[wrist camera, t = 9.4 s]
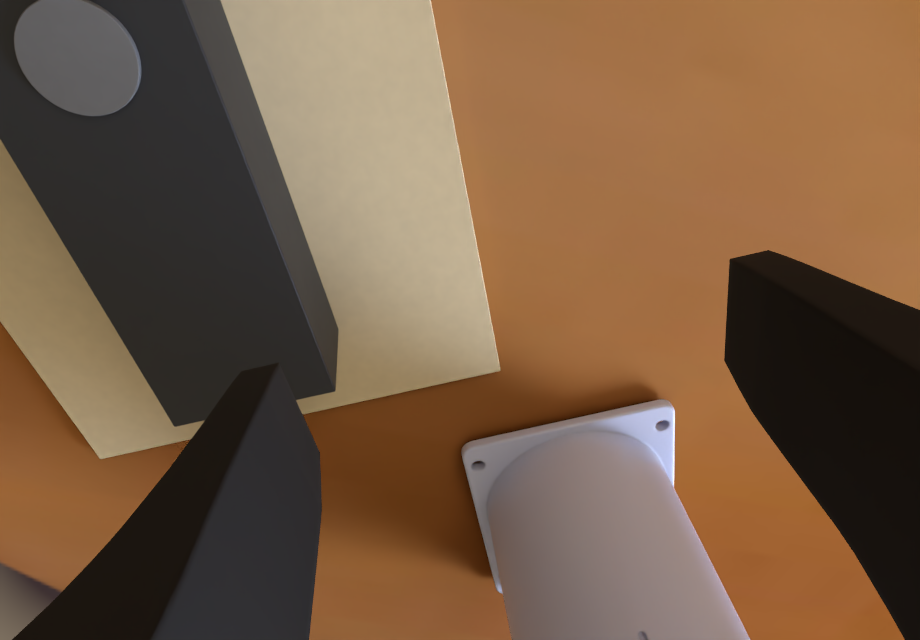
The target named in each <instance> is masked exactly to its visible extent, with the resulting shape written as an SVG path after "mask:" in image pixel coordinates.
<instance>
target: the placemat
mask: <svg viewBox="0 0 920 640" xmlns="http://www.w3.org/2000/svg"><path fill="white" fill-rule="evenodd" d="M220 1H221V3H222V6H223V9H224V12H225V14H226V17H227V20H228V23H229V26H230V28H231V31H232V34H233V37H234V40H235V42H236V45H237V48H238V51H239V53H240V56H241V59H242V62H243V65H244V67H245V70H246V73H247V76H248V79H249V81H250V84H251V87H252V90H253V92H254V95H255V98H256V101H257V104H258V106H259V109H260V112H261V115H262V117H263V120H264V123H265V126H266V129H267V131H268V134H269V137H270V140H271V143H272V145H273V148H274V151H275V154H276V156H277V159H278V162H279V165H280V168H281V170H282V173H283V176H284V179H285V182H286V184H287V187H288V190H289V193H290V195H291V198H292V201H293V204H294V207H295V209H296V212H297V215H298V218H299V221H300V223H301V226H302V229H303V232H304V234H305V237H306V240H307V243H308V246H309V248H310V251H311V254H312V257H313V259H314V262H315V265H316V268H317V271H318V273H319V276H320V279H321V282H322V285H323V287H324V290H325V293H326V296H327V298H328V301H329V304H330V307H331V310H332V312H333V315H334V318H335V321H336V324H337V326H338V329H339V333H338V353H337V373H336V391H335V392H331V393H326V394H322V395H317V396H313V397H308V398H304V399H299V400H296V401H297V404H298V406H299V408H300V410H301V412H302V415H303V414H307V413H312V412H316V411H321V410H325V409H330V408H334V407H339V406H343V405H348V404H353V403H357V402H362V401H366V400H371V399H375V398H380V397H384V396H389V395H393V394H398V393H402V392H407V391H411V390H416V389H420V388H425V387H429V386H434V385H439V384H443V383H448V382H452V381H457V380H461V379H466V378H470V377H475V376H479V375H484V374H488V373H493V372H497V371H500V364H499V359H498V354H497V349H496V343H495V338H494V333H493V327H492V322H491V317H490V311H489V306H488V301H487V296H486V290H485V285H484V280H483V274H482V269H481V264H480V259H479V253H478V248H477V243H476V237H475V232H474V227H473V221H472V216H471V211H470V206H469V200H468V195H467V190H466V184H465V179H464V174H463V169H462V163H461V158H460V153H459V147H458V142H457V137H456V131H455V126H454V121H453V116H452V110H451V105H450V100H449V94H448V89H447V84H446V79H445V73H444V68H443V63H442V57H441V52H440V47H439V41H438V36H437V31H436V26H435V20H434V15H433V10H432V4H431V0H220ZM0 322H1V323H2V325H3V326H4V327H5V329H6V330H7V331H8V333H9V334H10V336H11V337H12V338H13V340H14V341H15V342H16V344H17V345H18V347H19V348H20V349H21V351H22V352H23V353H24V355H25V356H26V358H27V359H28V360H29V362H30V363H31V365H32V366H33V367H34V369H35V370H36V371H37V373H38V374H39V376H40V377H41V378H42V380H43V381H44V382H45V384H46V385H47V387H48V388H49V389H50V391H51V392H52V393H53V395H54V396H55V398H56V399H57V400H58V402H59V403H60V404H61V406H62V407H63V409H64V410H65V411H66V413H67V414H68V416H69V417H70V418H71V420H72V421H73V422H74V424H75V425H76V427H77V428H78V429H79V431H80V432H81V433H82V435H83V436H84V438H85V439H86V440H87V442H88V443H89V444H90V446H91V447H92V449H93V450H94V451H95V453H96V454H97V455H98V457H99V458H100V459H104V458H108V457H113V456H117V455H122V454H126V453H131V452H135V451H140V450H144V449H149V448H153V447H158V446H162V445H167V444H172V443H176V442H181V441H185V440H190V439H192V437H193V436H194V435H195V433H196V432H197V431H198V429H199V428H200V427H201V425H202V424H203V422H204V421H205V420H204V421H200V422H195V423H191V424H186V425H182V426H177V427H174V425H173V424H172V422H171V421H170V419H169V417H168V416H167V414H166V412H165V411H164V409H163V407H162V406H161V404H160V402H159V401H158V399H157V397H156V396H155V394H154V392H153V391H152V389H151V387H150V386H149V384H148V383H147V381H146V379H145V378H144V376H143V374H142V373H141V371H140V369H139V368H138V366H137V364H136V363H135V361H134V359H133V358H132V356H131V354H130V353H129V351H128V349H127V348H126V346H125V345H124V343H123V341H122V340H121V338H120V336H119V335H118V333H117V331H116V330H115V328H114V326H113V325H112V323H111V321H110V320H109V318H108V316H107V315H106V313H105V311H104V310H103V308H102V307H101V305H100V303H99V302H98V300H97V298H96V297H95V295H94V293H93V292H92V290H91V288H90V287H89V285H88V283H87V282H86V280H85V278H84V277H83V275H82V273H81V272H80V270H79V269H78V267H77V265H76V264H75V262H74V260H73V259H72V257H71V255H70V254H69V252H68V250H67V249H66V247H65V245H64V244H63V242H62V240H61V239H60V237H59V235H58V234H57V232H56V231H55V229H54V227H53V226H52V224H51V222H50V221H49V219H48V217H47V216H46V214H45V212H44V211H43V209H42V207H41V206H40V204H39V202H38V201H37V199H36V197H35V196H34V194H33V193H32V191H31V189H30V188H29V186H28V184H27V183H26V181H25V179H24V178H23V176H22V174H21V173H20V171H19V169H18V168H17V166H16V164H15V163H14V161H13V160H12V158H11V156H10V155H9V153H8V151H7V150H6V148H5V146H4V145H3V143H2V141H1V140H0Z"/></svg>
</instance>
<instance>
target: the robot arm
mask: <svg viewBox="0 0 920 640" xmlns="http://www.w3.org/2000/svg"><path fill="white" fill-rule="evenodd" d="M724 361H725V362H726V364H727V366H728V368H729V370H730V372H731V374H732V376H733V378H734V380H735V382H736V384H737V386H738V388H739V389H740V391H741V393H742V395H743V397H744V398H745V400H746V402H747V404H748V405H749V407H750V409H751V411H752V412H753V414H754V415H755V417H756V418H757V420H758V421H759V422H760V424H761V425H762V427H763V428H764V429H765V431H766V432H767V433H768V435H769V436H770V438H771V439H772V440H773V442H774V443H775V444H776V446H777V447H778V449H779V450H780V451H781V453H782V454H783V455H784V457H785V458H786V459H787V461H788V462H789V463H790V465H791V466H792V467H793V469H794V470H795V471H796V473H797V474H798V476H799V477H800V478H801V480H802V481H803V482H804V484H805V485H806V486H807V488H808V489H809V490H810V492H811V493H812V494H813V496H814V497H815V498H816V500H817V501H818V502H819V504H820V505H821V507H822V508H823V509H824V511H825V512H826V513H827V515H828V516H829V517H830V519H831V520H832V521H833V523H834V524H835V525H836V527H837V528H838V530H839V531H840V533H841V534H842V536H843V537H844V539H845V540H846V542H847V543H848V544H849V546H850V547H851V549H852V550H853V552H854V553H855V555H856V557H857V558H858V560H859V562H860V563H861V565H862V567H863V568H864V570H865V572H866V573H867V575H868V577H869V578H870V580H871V582H872V584H873V585H874V587H875V589H876V590H877V592H878V594H879V595H880V597H881V599H882V600H883V602H884V604H885V605H886V607H887V609H888V610H889V612H890V614H891V616H892V617H893V619H894V621H895V623H896V625H897V626H898V628H899V630H900V632H901V633H902V635H903V637H904V639H905V640H920V310H918V309H915V308H913V307H910V306H908V305H905V304H903V303H900V302H897V301H895V300H892V299H890V298H887V297H885V296H882V295H880V294H877V293H875V292H872V291H870V290H868V289H865V288H863V287H860V286H858V285H855V284H853V283H851V282H848V281H846V280H843V279H841V278H839V277H836V276H834V275H831V274H829V273H827V272H824V271H822V270H819V269H817V268H814V267H812V266H810V265H807V264H805V263H802V262H800V261H797V260H795V259H792V258H789V257H787V256H784V255H781V254H778V253H775V252H772V251H769V250H767V251H763V252H759V253H754V254H750V255H746V256H741V257H737V258H733V259H730V265H729V284H728V302H727V321H726V340H725V358H724ZM662 420H663V421H662ZM659 421H662V422H660V423H658V422H659ZM674 441H675V411H674V408H673V406H672V404H671V403H670V402H669V401H668V400H665V399H660V400H654V401H650V402H645V403H641V404H636V405H632V406H627V407H623V408H618V409H614V410H609V411H605V412H600V413H596V414H591V415H587V416H582V417H577V418H573V419H568V420H564V421H559V422H555V423H550V424H546V425H541V426H537V427H532V428H528V429H523V430H519V431H514V432H510V433H505V434H500V435H496V436H491V437H487V438H482V439H478V440H473V441H470V442H468V443H466V444H465V445H464V446H463V448H462V452H461V453H462V459H463V463H464V467H465V470H466V474H467V478H468V482H469V486H470V490H471V494H472V497H473V501H474V505H475V509H476V513H477V517H478V521H479V524H480V528H481V532H482V536H483V540H484V544H485V548H486V551H487V555H488V559H489V563H490V567H491V571H492V575H493V578H494V582H495V586H496V589H497V591H498V592H500V593H503V597H504V603H505V608H506V613H507V618H508V623H509V628H510V633H511V639H512V640H750V638H749V636H748V634H747V632H746V630H745V628H744V626H743V624H742V622H741V620H740V618H739V616H738V614H737V612H736V610H735V608H734V606H733V604H732V602H731V600H730V598H729V597H728V595H727V593H726V591H725V589H724V587H723V585H722V583H721V581H720V579H719V577H718V575H717V573H716V571H715V569H714V567H713V565H712V563H711V561H710V559H709V557H708V555H707V553H706V551H705V549H704V547H703V545H702V543H701V541H700V539H699V537H698V535H697V533H696V531H695V529H694V527H693V525H692V523H691V521H690V519H689V517H688V515H687V513H686V511H685V509H684V507H683V505H682V503H681V501H680V499H679V497H678V495H677V493H676V491H675V489H674ZM476 461H481V462H479V463H474V462H476ZM321 512H322V503H321V470H320V452H319V450H318V448H317V445H316V443H315V441H314V439H313V437H312V434H311V432H310V430H309V428H308V426H307V423H306V421H305V419H304V417H303V415H302V412H301V410H300V408H299V406H298V404H297V401H296V399H295V397H294V395H293V393H292V390H291V388H290V386H289V384H288V381H287V379H286V377H285V375H284V373H283V370H282V368H281V366H280V364H279V363H275V364H270V365H266V366H262V367H257V368H253V369H249V370H244V371H241V372H240V373H239V375H238V376H237V377H236V378H235V380H234V381H233V382H232V384H231V385H230V386H229V388H228V389H227V390H226V392H225V393H224V395H223V396H222V397H221V399H220V400H219V401H218V403H217V404H216V406H215V407H214V408H213V410H212V411H211V413H210V414H209V415H208V417H207V418H206V420H205V421H204V422H203V424H202V425H201V427H200V428H199V429H198V431H197V432H196V433H195V435H194V436H193V437H192V439H191V440H190V441H189V443H188V444H187V445H186V447H185V448H184V450H183V451H182V452H181V454H180V455H179V456H178V458H177V459H176V460H175V462H174V463H173V464H172V466H171V467H170V468H169V470H168V471H167V472H166V473H165V475H164V476H163V477H162V478H161V480H160V481H159V482H158V483H157V485H156V486H155V487H154V488H153V489H152V491H151V492H150V493H149V494H148V496H147V497H146V498H145V499H144V501H143V502H142V503H141V504H140V505H139V507H138V508H137V509H136V510H135V512H134V513H133V514H132V515H131V517H130V518H129V519H128V520H127V521H126V523H125V524H124V525H123V526H122V528H121V529H120V530H119V531H118V532H117V533H116V534H115V536H114V537H113V538H112V539H111V540H110V541H109V542H108V544H107V545H106V546H105V547H104V548H103V549H102V550H101V551H100V552H99V553H98V555H97V556H96V557H95V558H94V559H93V560H92V561H91V562H90V563H89V564H88V565H87V566H86V567H85V568H84V570H83V571H82V572H81V573H80V574H79V575H78V576H77V577H76V578H75V579H74V580H73V581H72V582H71V583H70V584H69V585H68V586H67V587H66V588H65V589H64V590H63V592H62V593H61V594H60V595H59V596H58V597H57V598H56V599H55V600H54V601H53V602H52V603H51V604H50V605H49V606H48V607H46V609H44V610H43V611H42V612H41V613H40V614H39V615H38V616H37V617H36V618H35V619H34V620H33V621H32V622H31V623H30V624H28V625H27V626H26V627H25V628H24V629H23V630H22V631H21V632H20V633H19V634H18V635H17V636H16V637H15V638H13V639H12V640H309V633H310V623H311V614H312V604H313V594H314V584H315V575H316V565H317V555H318V545H319V534H320V523H321Z"/></svg>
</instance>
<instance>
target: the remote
mask: <svg viewBox="0 0 920 640" xmlns="http://www.w3.org/2000/svg"><path fill="white" fill-rule="evenodd" d="M0 140H1V141H2V143H3V145H4V146H5V148H6V150H7V151H8V153H9V155H10V156H11V158H12V160H13V161H14V163H15V164H16V166H17V168H18V169H19V171H20V173H21V174H22V176H23V178H24V179H25V181H26V183H27V184H28V186H29V188H30V189H31V191H32V193H33V194H34V196H35V197H36V199H37V201H38V202H39V204H40V206H41V207H42V209H43V211H44V212H45V214H46V216H47V217H48V219H49V221H50V222H51V224H52V226H53V227H54V229H55V231H56V232H57V234H58V235H59V237H60V239H61V240H62V242H63V244H64V245H65V247H66V249H67V250H68V252H69V254H70V255H71V257H72V259H73V260H74V262H75V264H76V265H77V267H78V269H79V270H80V272H81V273H82V275H83V277H84V278H85V280H86V282H87V283H88V285H89V287H90V288H91V290H92V292H93V293H94V295H95V297H96V298H97V300H98V302H99V303H100V305H101V307H102V308H103V310H104V311H105V313H106V315H107V316H108V318H109V320H110V321H111V323H112V325H113V326H114V328H115V330H116V331H117V333H118V335H119V336H120V338H121V340H122V341H123V343H124V345H125V346H126V348H127V349H128V351H129V353H130V354H131V356H132V358H133V359H134V361H135V363H136V364H137V366H138V368H139V369H140V371H141V373H142V374H143V376H144V378H145V379H146V381H147V383H148V384H149V386H150V387H151V389H152V391H153V392H154V394H155V396H156V397H157V399H158V401H159V402H160V404H161V406H162V407H163V409H164V411H165V412H166V414H167V416H168V417H169V419H170V421H171V422H172V424H173V425H174V427H177V426H182V425H186V424H191V423H195V422H200V421H204V420H206V418H207V417H208V415H209V414H210V413H211V411H212V410H213V408H214V407H215V406H216V404H217V403H218V401H219V400H220V399H221V397H222V396H223V395H224V393H225V392H226V390H227V389H228V388H229V386H230V385H231V384H232V382H233V381H234V380H235V378H236V377H237V376H238V375H239V373H240V372H241V371H244V370H249V369H253V368H257V367H262V366H266V365H270V364H275V363H279V364H280V366H281V368H282V370H283V373H284V375H285V377H286V379H287V381H288V384H289V386H290V388H291V390H292V393H293V395H294V397H295V399H296V400H299V399H304V398H308V397H313V396H317V395H322V394H326V393H331V392H335V391H336V373H337V353H338V333H339V329H338V326H337V324H336V321H335V318H334V315H333V312H332V310H331V307H330V304H329V301H328V298H327V296H326V293H325V290H324V287H323V285H322V282H321V279H320V276H319V273H318V271H317V268H316V265H315V262H314V259H313V257H312V254H311V251H310V248H309V246H308V243H307V240H306V237H305V234H304V232H303V229H302V226H301V223H300V221H299V218H298V215H297V212H296V209H295V207H294V204H293V201H292V198H291V195H290V193H289V190H288V187H287V184H286V182H285V179H284V176H283V173H282V170H281V168H280V165H279V162H278V159H277V156H276V154H275V151H274V148H273V145H272V143H271V140H270V137H269V134H268V131H267V129H266V126H265V123H264V120H263V117H262V115H261V112H260V109H259V106H258V104H257V101H256V98H255V95H254V92H253V90H252V87H251V84H250V81H249V79H248V76H247V73H246V70H245V67H244V65H243V62H242V59H241V56H240V53H239V51H238V48H237V45H236V42H235V40H234V37H233V34H232V31H231V28H230V26H229V23H228V20H227V17H226V14H225V12H224V9H223V6H222V3H221V1H220V0H0Z"/></svg>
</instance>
